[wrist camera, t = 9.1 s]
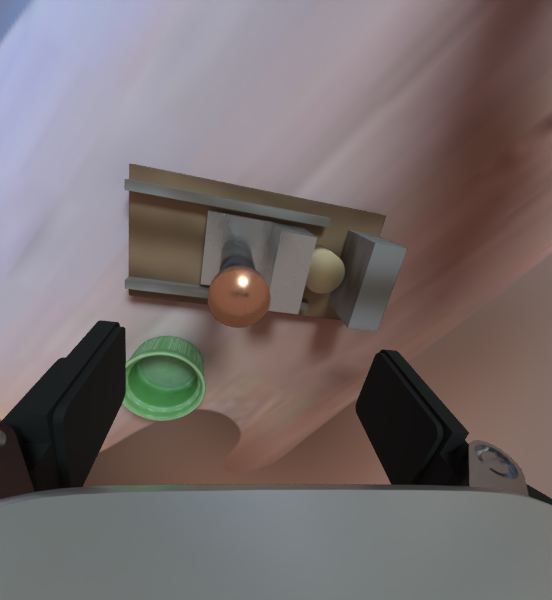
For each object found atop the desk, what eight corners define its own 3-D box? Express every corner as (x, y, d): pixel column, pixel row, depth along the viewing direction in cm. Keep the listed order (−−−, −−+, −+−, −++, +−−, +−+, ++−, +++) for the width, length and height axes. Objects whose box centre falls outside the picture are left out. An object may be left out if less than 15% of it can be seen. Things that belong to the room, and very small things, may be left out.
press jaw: (208, 209, 26) (194, 234, 16) (303, 227, 28) (346, 259, 18) (201, 282, 29) (184, 344, 18) (288, 293, 31) (318, 356, 20)
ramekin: (137, 321, 32) (124, 342, 28) (218, 342, 34) (216, 364, 30) (121, 385, 34) (106, 412, 30) (196, 400, 37) (192, 427, 33)
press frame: (134, 164, 26) (100, 161, 19) (379, 213, 30) (421, 225, 24) (133, 289, 30) (105, 324, 23) (346, 315, 35) (374, 349, 28)
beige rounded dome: (301, 242, 29) (309, 249, 26) (338, 248, 30) (350, 256, 27) (292, 279, 30) (299, 290, 28) (328, 284, 31) (338, 295, 28)
